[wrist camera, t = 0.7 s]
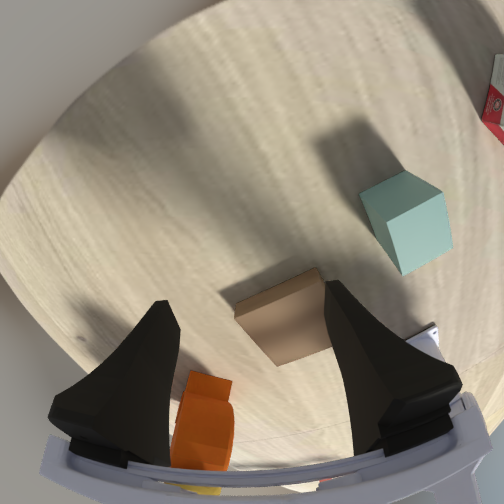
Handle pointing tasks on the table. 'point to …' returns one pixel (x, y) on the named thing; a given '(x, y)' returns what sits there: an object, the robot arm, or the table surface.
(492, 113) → the ink box
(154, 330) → the robot arm
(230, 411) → the alarm clock
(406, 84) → the table surface
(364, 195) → the teal block
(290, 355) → the walnut slab
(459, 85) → the table surface
